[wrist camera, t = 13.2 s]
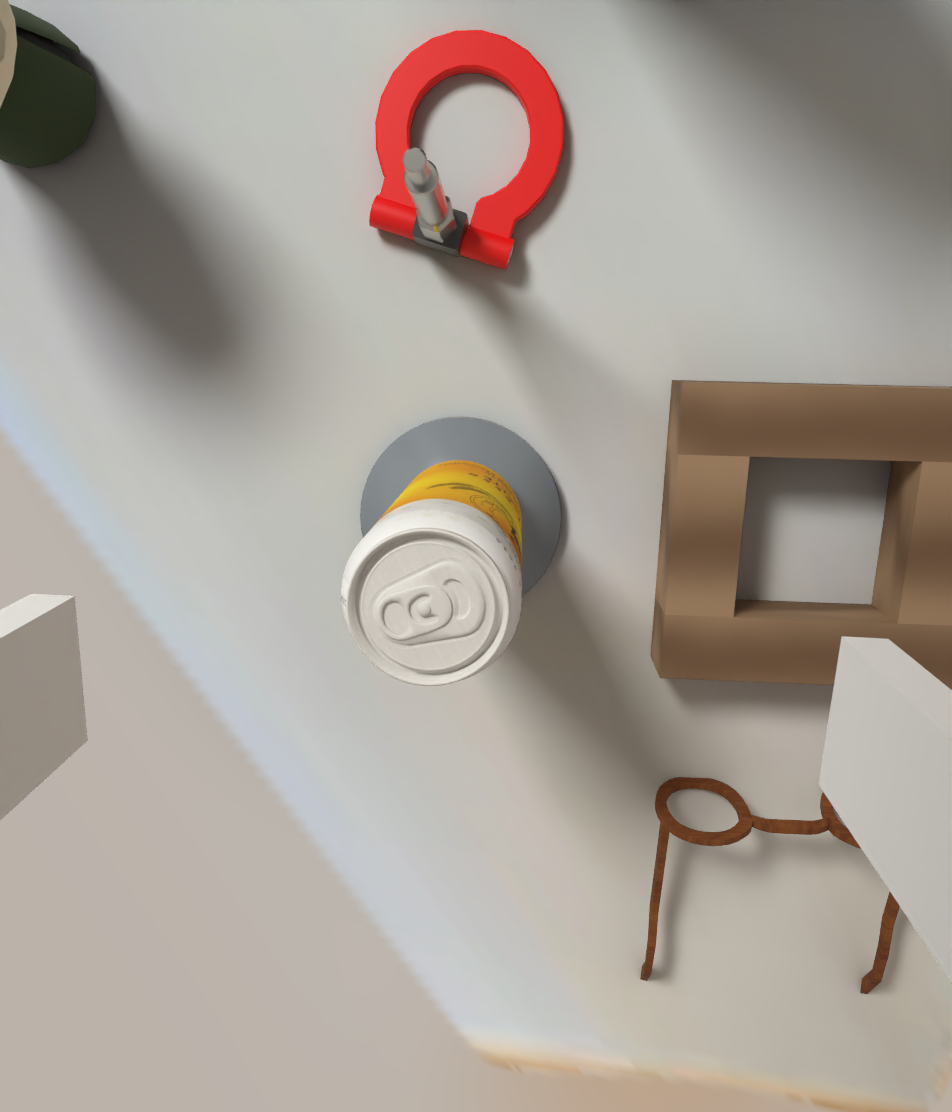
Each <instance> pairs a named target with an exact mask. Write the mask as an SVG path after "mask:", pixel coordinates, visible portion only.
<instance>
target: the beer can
mask: <svg viewBox="0 0 952 1112" xmlns="http://www.w3.org/2000/svg"><path fill="white" fill-rule="evenodd" d="M341 602H342V609H343V614H344V618H345V621H346V624H347V627H348V629H349V631H350V633H351V635H352V637H353V639H354V640H355V642H356V644H357V645H358V647H359V648H360V650H361V651H362V653H363V654H364V655H365V656H366V657H367V659H368V660H369V661H370V662H371V663H372V664H374V665H375V666H376V667H377V668H378V669H380V670H381V671H383V672H384V673H386V674H387V675H389V676H391V677H393V678H395V679H398V680H400V681H403V682H406V683H410V684H415V685H422V686H438V685H445V684H450V683H454V682H457V681H460V680H463V679H466V678H469V677H471V676H473V675H475V674H477V673H479V672H481V671H482V670H484V669H485V668H487V667H488V666H489V665H491V664H492V663H493V662H494V661H495V660H496V659H497V658H498V657H499V656H500V655H501V654H502V653H503V652H504V650H505V649H506V648H507V646H508V645H509V643H510V642H511V640H512V638H513V636H514V634H515V632H516V629H517V626H518V623H519V619H520V615H521V607H522V516H521V510H520V506H519V503H518V500H517V498H516V495H515V494H514V492H513V490H512V488H511V487H510V486H509V484H508V483H507V482H506V481H505V480H504V479H503V478H502V477H501V476H500V475H499V474H498V473H496V472H495V471H493V470H492V469H490V468H488V467H486V466H484V465H482V464H479V463H476V462H472V461H465V460H453V461H446V462H442V463H439V464H436V465H433V466H431V467H429V468H427V469H426V470H424V471H423V472H421V473H420V474H419V475H418V476H417V477H416V478H415V479H414V480H413V481H412V482H411V483H410V484H409V485H408V486H407V488H406V489H405V490H404V491H403V492H402V493H401V495H400V496H399V497H398V498H397V499H396V500H395V502H394V503H393V504H392V505H391V506H390V507H389V509H388V510H387V511H386V512H385V513H384V514H383V516H382V517H381V518H380V519H379V520H378V521H377V523H376V524H375V525H374V526H373V527H372V528H371V529H370V531H369V532H368V533H367V534H366V535H365V536H364V538H363V539H362V540H361V541H360V543H359V544H358V545H357V547H356V548H355V549H354V551H353V553H352V555H351V556H350V558H349V561H348V563H347V565H346V568H345V571H344V575H343V580H342V586H341Z"/></svg>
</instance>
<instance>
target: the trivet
mask: <svg viewBox="0 0 952 1112" xmlns="http://www.w3.org/2000/svg"><path fill="white" fill-rule="evenodd" d="M453 460H465V461H472V462H476V463H479V464H482V465H484V466H486V467H488V468H490V469H492V470H493V471H495V472H496V473H498V474H499V475H500V476H501V477H502V478H503V479H504V480H505V481H506V482H507V483H508V484H509V486H510V487H511V488H512V490H513V492H514V494H515V495H516V498H517V500H518V503H519V506H520V510H521V516H522V595H523V594H524V593H526V592H527V591H528V590H529V589H530V588H531V587H532V586H533V585H534V584H535V583H536V582H537V581H538V580H539V579H540V577H541V576H542V575H543V573H544V572H545V570H546V569H547V567H548V565H549V563H550V562H551V560H552V557H553V555H554V552H555V550H556V547H557V543H558V539H559V535H560V526H561V509H560V502H559V496H558V492H557V489H556V486H555V482H554V480H553V478H552V476H551V473H550V471H549V469H548V468H547V466H546V464H545V463H544V461H543V459H542V458H541V457H540V456H539V454H538V453H537V452H536V451H535V450H534V448H532V447H531V446H530V445H529V444H528V443H527V442H526V441H525V440H524V439H522V438H521V437H520V436H518V435H517V434H515V433H514V432H512V431H511V430H509V429H507V428H505V427H503V426H501V425H498V424H496V423H493V422H490V421H487V420H482V419H478V418H470V417H449V418H443V419H437V420H434V421H431V422H427V423H424V424H422V425H420V426H418V427H416V428H413V429H412V430H410V431H408V432H407V433H405V434H404V435H402V436H401V437H399V438H398V439H397V440H396V441H395V442H393V443H392V444H391V445H390V446H389V447H388V448H387V449H386V450H385V451H384V453H383V454H382V455H381V456H380V457H379V459H378V460H377V462H376V463H375V465H374V466H373V468H372V470H371V472H370V474H369V476H368V479H367V482H366V485H365V488H364V491H363V496H362V501H361V514H360V518H361V530H362V534H363V538H364V536H365V535H366V534H367V533H368V532H369V531H370V529H371V528H372V527H373V526H374V525H375V524H376V523H377V521H378V520H379V519H380V518H381V517H382V516H383V514H384V513H385V512H386V511H387V510H388V509H389V507H390V506H391V505H392V504H393V503H394V502H395V500H396V499H397V498H398V497H399V496H400V495H401V493H402V492H403V491H404V490H405V489H406V488H407V486H408V485H409V484H410V483H411V482H412V481H413V480H414V479H415V478H416V477H417V476H418V475H419V474H420V473H421V472H423V471H424V470H426V469H427V468H429V467H431V466H433V465H436V464H439V463H442V462H446V461H453Z"/></svg>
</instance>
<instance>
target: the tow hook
mask: <svg viewBox="0 0 952 1112" xmlns="http://www.w3.org/2000/svg"><path fill="white" fill-rule="evenodd" d="M460 73H480V74H484V75H487V76H491V77H494V78H495V79H497V80H499V81H500V82H502V83H503V84H505V85H507V86H508V87H509V88H510V90H511V91H512V92H513V93H514V94H515V95H516V96H517V97H518V98H519V100H520V102H521V104H522V106H523V108H524V110H525V112H526V115H527V119H528V123H529V127H530V145H529V149H528V153H527V157H526V160H525V162H524V163H523V165H522V167H521V169H520V171H519V173H518V174H517V175H516V176H515V177H514V178H513V180H512V181H511V182H510V183H509V184H508V185H507V186H506V187H504V188H502V189H501V190H499V191H498V192H496V193H494V194H493V195H489V196H486V197H483V198H481V199H480V200H479V201H478V202H477V203H476V206H475V210H474V213H473V217H472V220H471V223H470V225H469V223H468V218H467V214H466V213H464V212H461V211H458V210H455V209H452V205H451V201H450V198H449V197H447V196H445V195H444V192H443V188H442V185H441V182H440V178H439V175H438V172H437V169H436V167H435V166H434V164H433V163H432V162H431V161H429V160H427V157H426V155H425V153H424V151H423V150H421V149H420V148H417V147H412V148H410V129H411V125H412V120H413V116H414V113H415V111H416V109H417V107H418V105H419V103H420V101H421V99H422V98H423V97H424V96H425V95H426V94H427V92H428V91H429V90H430V89H431V88H432V87H433V86H435V85H436V84H438V83H439V82H441V81H442V80H444V79H445V78H447V77H451V76H454V75H457V74H460ZM375 124H376V150H377V154H378V158H379V161H380V165H381V169H382V172H383V175H384V177H385V178H384V182H383V186H382V189H381V193H380V196H379V195H377V196H376V197H375V199H374V202H373V204H372V208H371V212H370V220H369V223H370V226H372V227H375V228H378V229H381V230H384V231H387V232H390V233H393V234H396V235H400V236H403V237H406V238H409V239H412V240H415V241H416V243H418V244H420V245H423V246H426V247H429V248H433V249H436V250H439V251H442V252H445V253H448V254H451V255H454V256H460V255H461V256H464V257H467V258H470V259H474V260H477V261H480V262H483V263H486V264H489V265H492V266H495V267H498V268H501V269H504V270H505V269H506V268H507V266H508V265H509V262H510V259H511V256H512V252H513V249H514V239H512V238H511V237H512V234H513V231H514V227H515V224H516V222H518V221H520V220H521V219H523V218H524V217H526V216H527V215H528V214H529V213H530V212H531V211H532V210H533V209H534V208H535V207H536V205H537V204H538V203H539V202H540V201H541V200H542V199H543V198H544V196H545V194H546V193H547V191H548V189H549V187H550V185H551V183H552V182H553V180H554V178H555V176H556V173H557V169H558V166H559V162H560V158H561V154H562V150H563V145H564V118H563V114H562V109H561V105H560V101H559V97H558V93H557V91H556V89H555V87H554V85H553V83H552V81H551V79H550V78H549V76H548V74H547V72H546V70H545V69H544V68H543V67H542V66H541V64H540V63H539V62H538V61H537V60H536V59H535V58H534V57H533V56H532V55H531V54H530V52H529V51H528V50H526V49H524V48H523V47H521V46H520V45H518V44H516V43H515V42H513V41H511V40H510V39H508V38H507V37H504V36H500V35H497V34H493V33H489V32H486V31H482V30H469V31H454V32H451V33H447V34H444V35H441V36H438V37H435V38H432V39H430V40H429V41H427V42H426V43H424V44H423V45H421V46H420V47H418V48H417V49H415V50H414V51H412V52H411V53H410V54H409V55H408V56H407V57H406V58H405V59H404V61H403V62H402V63H401V64H400V65H399V66H398V67H397V69H396V70H395V71H394V72H393V74H392V76H391V78H390V80H389V82H388V84H387V86H386V88H385V90H384V92H383V94H382V96H381V99H380V104H379V108H378V113H377V118H376V122H375Z"/></svg>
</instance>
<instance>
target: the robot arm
mask: <svg viewBox="0 0 952 1112" xmlns="http://www.w3.org/2000/svg"><path fill="white" fill-rule="evenodd" d="M86 741H87V729H86V717H85V707H84V696H83V685H82V674H81V662H80V651H79V639H78V629H77V617H76V606H75V596H64V595H44V594H30V595H29V596H27V597H25V598H23V599H21V600H19V601H17V602H15V603H13V604H11V605H9V606H7V607H5V608H3V609H1V610H0V820H1V819H2V818H3V817H5V816H6V815H7V814H8V813H9V812H10V811H11V810H12V809H13V808H14V807H15V806H17V805H18V804H19V803H20V802H21V801H22V800H23V799H24V798H25V797H26V796H27V795H29V794H30V792H32V791H33V790H34V789H35V788H36V787H37V786H38V785H39V784H41V782H43V781H44V780H45V779H46V778H47V777H48V776H49V775H50V774H51V773H52V772H53V771H55V770H56V769H57V768H58V767H59V766H60V765H61V764H62V763H63V762H65V760H67V759H68V758H69V757H70V756H71V755H72V754H73V753H74V752H75V751H77V750H78V749H79V748H80V747H81V746H82V745H83V744H84V743H85V742H86ZM818 785H819V786H820V788H821V789H822V791H823V792H824V794H825V795H826V797H827V798H828V800H829V801H830V802H831V804H832V805H833V807H834V808H835V810H836V811H837V813H838V814H839V816H840V817H841V819H842V820H843V822H844V823H845V825H846V826H847V828H848V829H849V831H850V832H851V834H852V835H853V837H854V838H855V840H856V841H857V843H858V844H859V846H860V847H861V849H862V850H863V852H864V853H865V855H866V856H867V858H868V859H869V861H870V862H871V864H872V865H873V867H874V868H875V870H876V871H877V873H878V874H879V876H880V877H881V879H882V880H883V882H884V883H885V885H886V886H887V888H888V889H889V891H890V892H891V894H892V895H893V897H894V898H895V900H896V901H897V903H898V904H899V906H900V907H901V909H902V910H903V912H904V913H905V915H906V916H907V918H908V919H909V921H910V922H911V924H912V925H913V927H914V928H915V929H916V931H917V932H918V934H919V935H920V937H921V938H922V940H923V941H924V943H925V944H926V946H927V947H928V949H929V950H930V952H931V953H932V955H933V956H934V958H935V959H936V961H937V962H938V964H939V965H940V967H941V968H942V970H943V971H944V973H945V974H946V976H947V977H948V979H949V980H950V982H951V983H952V690H951V689H950V688H948V687H947V686H946V685H945V684H943V683H942V682H941V681H940V680H939V679H937V678H936V677H935V676H934V675H932V674H931V673H930V672H929V671H927V670H926V669H925V668H924V667H922V666H921V665H920V664H919V663H918V662H916V661H915V660H914V659H913V658H911V657H910V656H909V655H908V654H906V653H905V652H904V651H903V650H902V649H900V648H899V647H898V646H897V645H895V644H894V643H893V642H892V641H890V640H889V639H883V638H864V637H845V636H842V637H841V643H840V650H839V656H838V662H837V669H836V675H835V682H834V688H833V694H832V701H831V707H830V713H829V720H828V726H827V732H826V739H825V745H824V751H823V758H822V764H821V770H820V777H819V783H818Z"/></svg>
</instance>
